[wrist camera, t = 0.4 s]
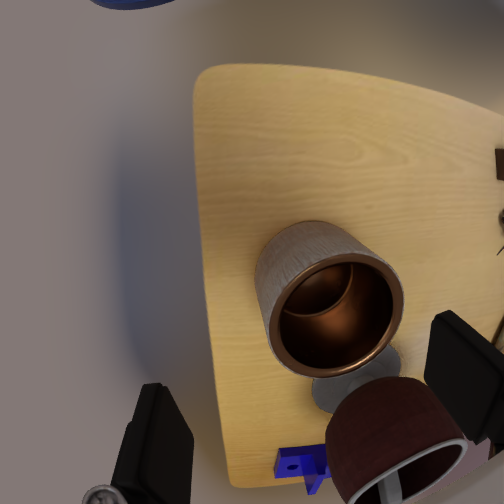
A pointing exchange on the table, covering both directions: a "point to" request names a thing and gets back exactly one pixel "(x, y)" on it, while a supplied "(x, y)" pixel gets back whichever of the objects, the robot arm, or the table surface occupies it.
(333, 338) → the planter
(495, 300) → the table surface
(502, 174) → the block
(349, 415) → the mate gourd
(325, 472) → the mounting bracket
